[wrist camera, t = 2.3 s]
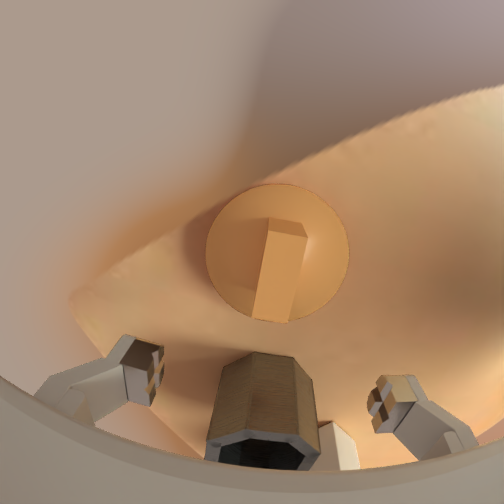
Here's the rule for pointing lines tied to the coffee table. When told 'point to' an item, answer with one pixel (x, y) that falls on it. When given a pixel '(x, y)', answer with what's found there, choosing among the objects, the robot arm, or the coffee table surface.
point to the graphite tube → (264, 415)
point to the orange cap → (277, 253)
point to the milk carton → (336, 450)
